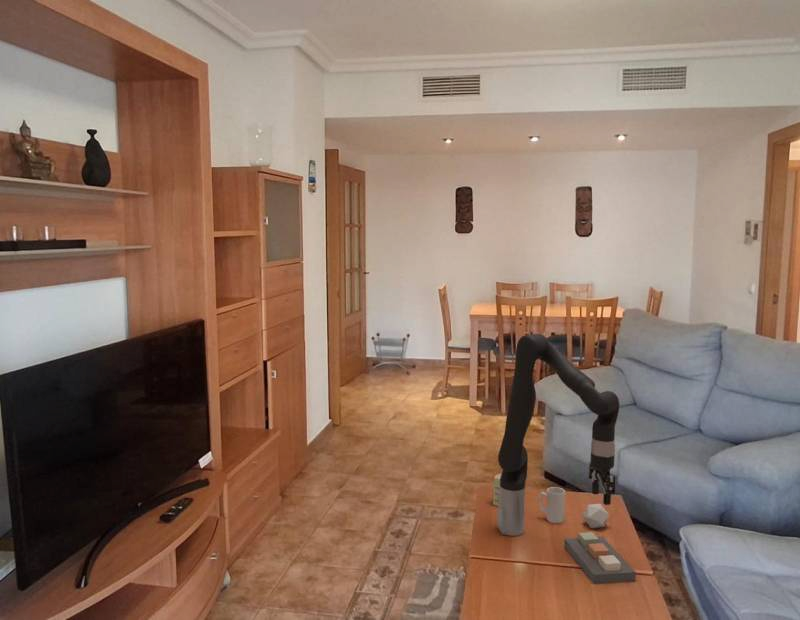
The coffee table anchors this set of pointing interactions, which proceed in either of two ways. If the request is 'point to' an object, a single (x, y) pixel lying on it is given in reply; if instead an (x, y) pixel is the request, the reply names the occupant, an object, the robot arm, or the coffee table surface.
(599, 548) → the key terracotta
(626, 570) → the key panel
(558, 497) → the mug
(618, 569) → the key ivory
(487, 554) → the coffee table surface
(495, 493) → the box
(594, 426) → the robot arm
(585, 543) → the key sage
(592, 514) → the die
